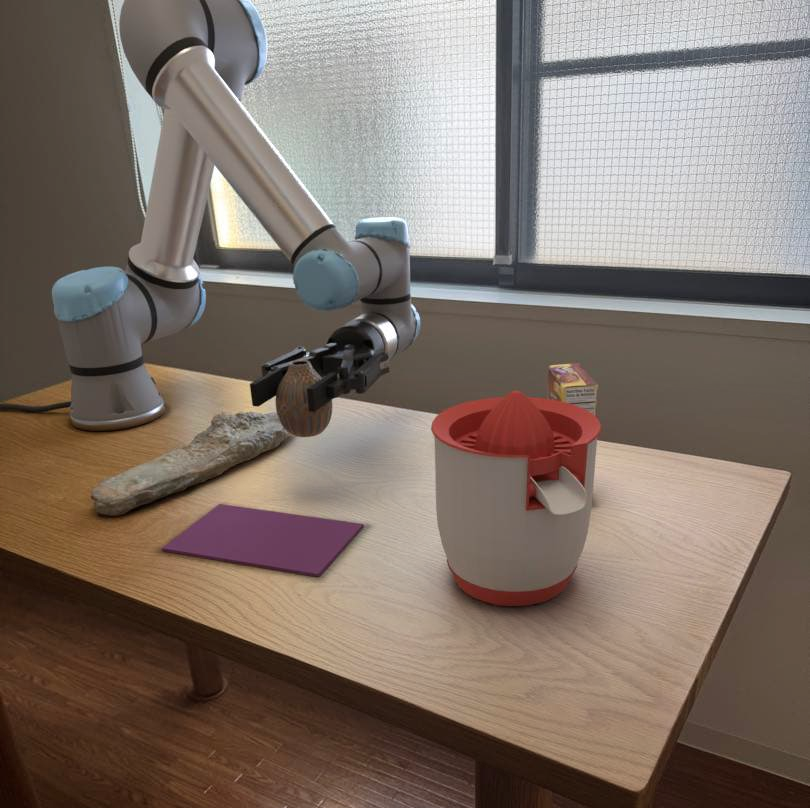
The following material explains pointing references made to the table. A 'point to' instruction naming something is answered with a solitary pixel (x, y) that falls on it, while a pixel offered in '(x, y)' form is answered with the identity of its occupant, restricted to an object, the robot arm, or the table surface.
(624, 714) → the table surface
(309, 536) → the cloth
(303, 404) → the vase
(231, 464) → the long grey stone
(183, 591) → the table surface
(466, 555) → the citrus juicer
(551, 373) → the candy box
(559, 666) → the table surface
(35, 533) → the table surface
